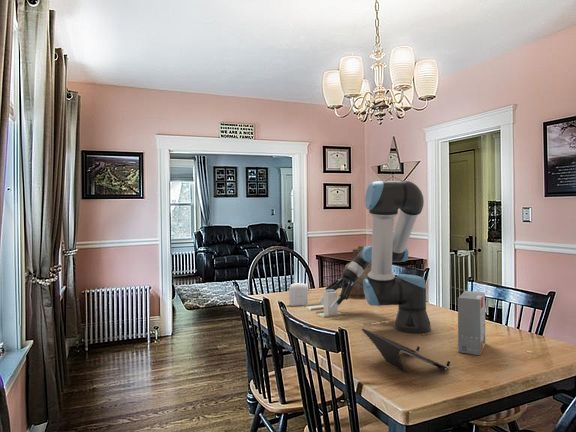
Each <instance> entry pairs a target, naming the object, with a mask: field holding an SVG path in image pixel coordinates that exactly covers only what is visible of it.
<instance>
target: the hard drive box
mask: <svg viewBox="0 0 576 432" xmlns="http://www.w3.org/2000/svg"><path fill="white" fill-rule="evenodd" d="M485 346H486V292H482V291H473V290H472V291H470V290H469V291H468V290H464V291H463V293H462V294H460V295H459V296H458V297H457V352H458V353H462V354H469V355H474V356H481V355H482V353H483V350H484V348H485Z"/></svg>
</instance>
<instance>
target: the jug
mask: <svg viewBox="0 0 576 432" xmlns="http://www.w3.org/2000/svg"><path fill="white" fill-rule="evenodd" d="M365 246H366V245H358V247H357V248H354V249H352V253H353V259H352V260H351V261H350V262H348V263H346V265H344V268H343V270H342V272H341V275H340V276H341V277H340V278H343V272H344V271H345V270H346V269H348V268H347V267H348V266H349V265H350V263H351V262H352V261H353V260H354V259H355V258H356V256H357V255H358V254H359V252H360V251H361V250H362V249H363V248H364V247H365ZM371 264H372V263H371ZM371 264H369V265H368V267H367V268H366V269H365V270H364V271H363V273H362V274H361V275H360V276H359V277H358V279H357V280H356V282H355V283H354V284H355V285H354V286H353V288H352V290H351V292H350V295H351V296H352V297H358V298H360V297H365V294H364V289H363V280H364V279H366V278H368V273H369V272H370V271H371Z"/></svg>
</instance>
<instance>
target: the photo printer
mask: <svg viewBox="0 0 576 432" xmlns="http://www.w3.org/2000/svg"><path fill="white" fill-rule="evenodd" d="M288 289H289V292H288V293H289V298H288V299H289V302H288V303H289V307H295V306H297V307H298V306H304V305H306V304H309V303H308V302H309V301H308V300H309V298H308V294H309V293H308V291H309V290H308V285H307V283H303V282H295V283H292V284H290V285H289V287H288Z"/></svg>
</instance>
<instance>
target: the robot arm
mask: <svg viewBox="0 0 576 432" xmlns="http://www.w3.org/2000/svg"><path fill="white" fill-rule="evenodd" d="M424 199H425V198H424V195H423V193H422V190H421V189H420V187H419V186H418V185H417V184H415V183H414V182H412V181H409V180H378V181H377V180H376V181H372V182H370V183H369V184H368V186H367V188H366V191H365V196H364V202H365V204H364V205H365V206H364V207H365V208H366V210H368V213H369V215H371V217H372V231H371V232H372V233H371V236H372V237H371V245H368V246H367V245H364V246H365V247H364V248H363V249H362V250H361V251H360V252H359V254H358V255H357V256H356V258H355V259H354V260H353V259H352V260H353V261H352V260H351V261H352V262H351V261H350V262H351V263H350V262H349V263H350V265H349V266H348V267H347V268H348V269H346V270H345V271H344V272H343V271H342V272H343V278H341V277H340V276H338V277H337V278H336V279H335V280H334V281H332V283H330V284H329V285H328V286H326V287H325V291H326V290H330V289H334V290H335V291H337V290H339V289H341V292H340V294H339V295H337V299H336V300H335V301H334V303H333V304H332V305H331V306H330V307H331V308H332V309H333V310H334V311H335V310H336V308H337V309H338V307H339V306H340V305H341V303H343V301H345V300H348V299H349V297H350V295H351V294H350V292H351V290H352V288H353V286H354V285H355V284H354V283H355V282H356V280H357V279H358V277H359V276H360V275H361V274H362V273H363V271H364V270H365V269H366V268H367V267H368V265H369V264H371V271H370V272H369V273H368V278H366V279H364V280H363V289H364V294H365V296H364V297H365V300H366V302H367V304H368V305H369V306H371V307H372V306H374V307H375V306H377V307H380V306H381V307H382V306H397V307H398V308H397V309H398V310H397V314H396V317H395V320H394V328H395V329H396V330H398V331H400V332H403V333H404V332H405V333H410V334H411V333H414V334H421V333H427V332H430V331H431V330H432V326H431V325H432V324H431V322H430V318H429V316H428V312H427V285H426V280H425V278H424V277H422V276H419V275H415V274H408V273H398V274H397V276H396V275H395V274H394V273H393V272H392V271H393V270H392V269H393V263H402V262H406V261H408V259H409V250H408V249H409V248H407V245H408V243H409V239H410V236H411V235H412V232H413V229H414V225H415V223H416V221H417V218H418V215H420V214H421V213H422V211H423V209H424V201H425V200H424ZM397 215H398V216H397ZM396 216H397V220H396V223H395V222H394V220H395V219H394V218H395V217H396ZM394 223H395V226H394ZM318 303H321V304H322V305H323V304H324V299H323V295H322V296H321V297H320V298H319V300H318Z"/></svg>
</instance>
